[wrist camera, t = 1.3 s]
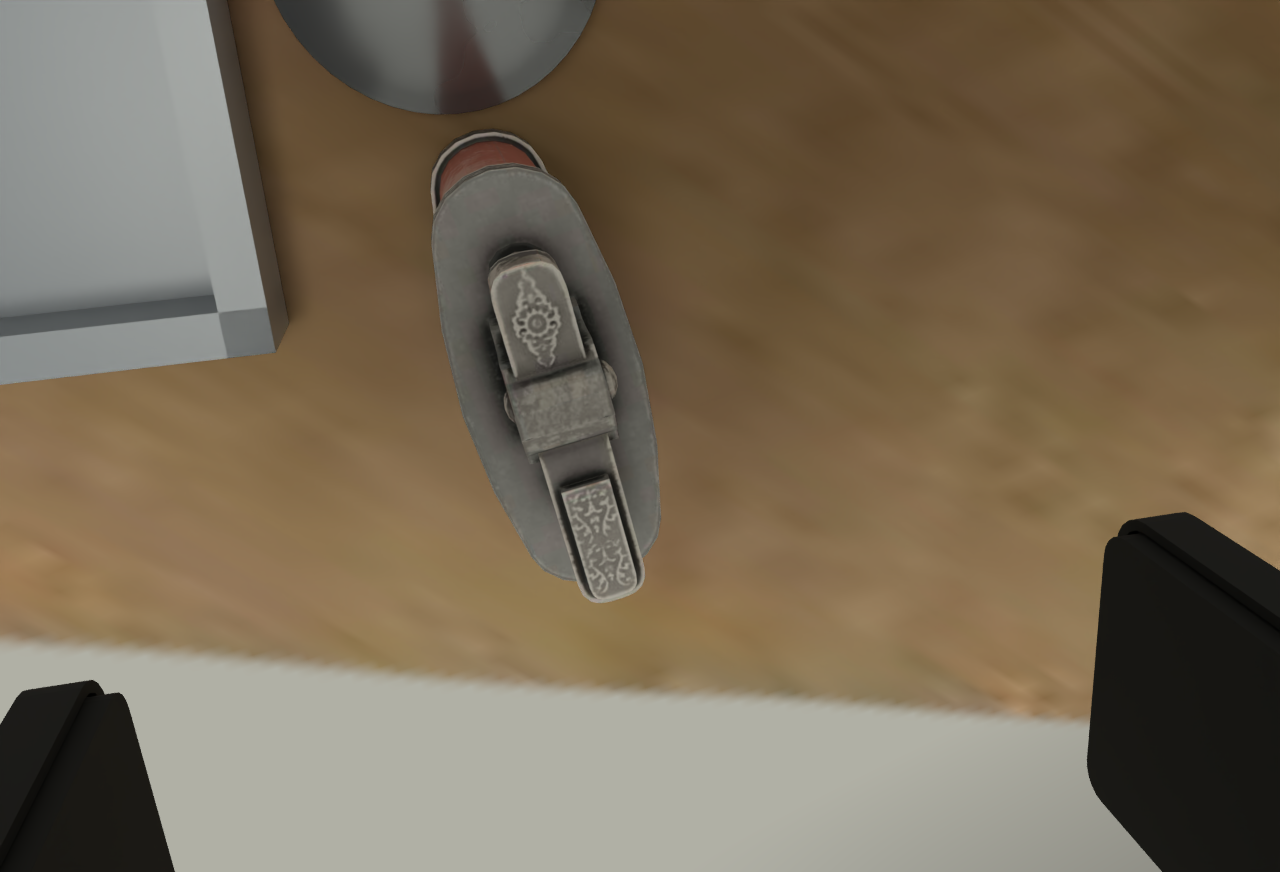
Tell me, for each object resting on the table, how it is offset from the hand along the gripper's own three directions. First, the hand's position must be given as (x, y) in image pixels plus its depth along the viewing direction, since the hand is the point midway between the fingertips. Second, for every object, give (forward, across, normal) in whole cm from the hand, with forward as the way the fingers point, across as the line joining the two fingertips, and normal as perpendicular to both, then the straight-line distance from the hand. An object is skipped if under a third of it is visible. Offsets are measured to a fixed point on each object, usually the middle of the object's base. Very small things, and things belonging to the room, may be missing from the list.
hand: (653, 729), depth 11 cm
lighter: (+18, 0, 0) cm, 18 cm away
